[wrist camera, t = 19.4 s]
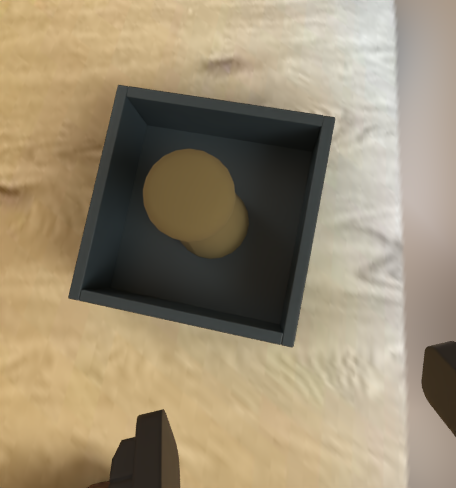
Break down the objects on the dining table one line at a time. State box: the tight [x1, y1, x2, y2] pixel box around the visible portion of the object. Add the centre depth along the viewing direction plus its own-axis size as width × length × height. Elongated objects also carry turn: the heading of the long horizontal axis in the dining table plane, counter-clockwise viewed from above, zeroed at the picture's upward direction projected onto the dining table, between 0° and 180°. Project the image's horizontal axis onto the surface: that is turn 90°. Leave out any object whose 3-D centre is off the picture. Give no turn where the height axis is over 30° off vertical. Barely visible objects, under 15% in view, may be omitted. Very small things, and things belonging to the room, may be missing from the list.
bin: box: [68, 85, 335, 347], centre depth 28 cm, size 16×16×6 cm
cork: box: [143, 149, 249, 259], centre depth 25 cm, size 6×6×11 cm
